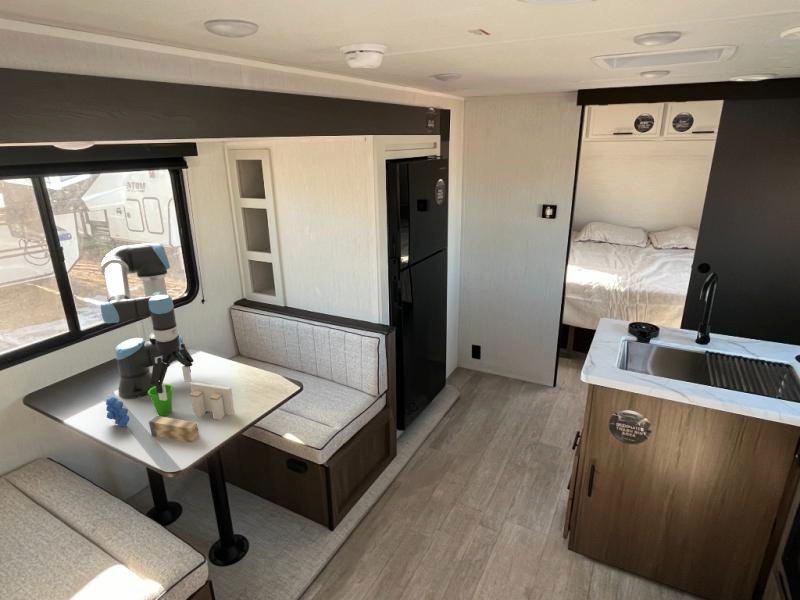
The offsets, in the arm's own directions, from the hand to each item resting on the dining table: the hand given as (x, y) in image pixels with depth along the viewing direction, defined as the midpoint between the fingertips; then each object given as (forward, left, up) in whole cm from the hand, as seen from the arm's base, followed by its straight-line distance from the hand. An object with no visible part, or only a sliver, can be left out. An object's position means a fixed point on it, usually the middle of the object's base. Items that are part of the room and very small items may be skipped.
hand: (176, 390), depth 172 cm
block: (-1, -3, -18) cm, 18 cm away
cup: (-16, +9, -18) cm, 26 cm away
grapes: (-27, -4, -18) cm, 33 cm away
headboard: (+3, +13, -18) cm, 22 cm away
